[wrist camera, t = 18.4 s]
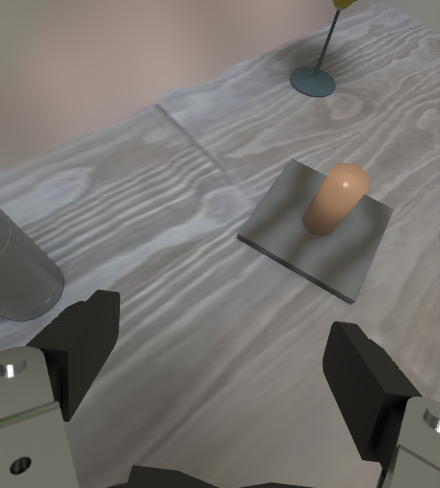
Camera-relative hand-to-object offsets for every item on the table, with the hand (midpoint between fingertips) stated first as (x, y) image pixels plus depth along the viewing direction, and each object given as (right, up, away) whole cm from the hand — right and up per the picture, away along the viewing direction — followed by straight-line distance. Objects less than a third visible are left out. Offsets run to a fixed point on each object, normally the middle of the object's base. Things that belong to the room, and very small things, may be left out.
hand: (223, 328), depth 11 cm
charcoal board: (+16, +6, +40) cm, 44 cm away
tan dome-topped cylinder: (+16, +7, +38) cm, 42 cm away
